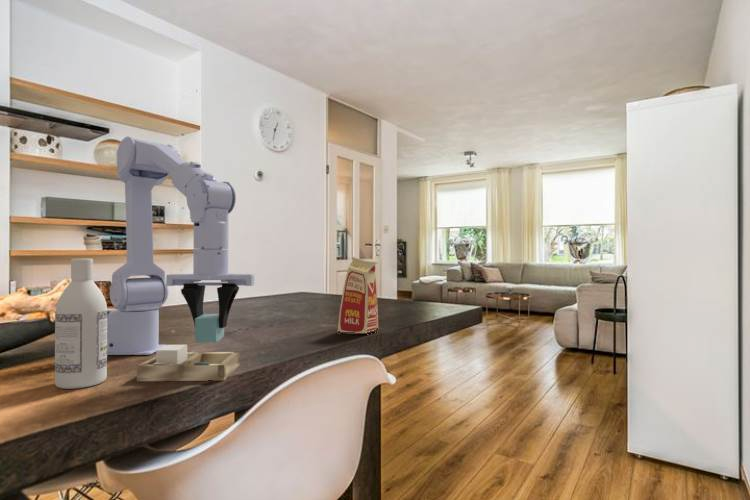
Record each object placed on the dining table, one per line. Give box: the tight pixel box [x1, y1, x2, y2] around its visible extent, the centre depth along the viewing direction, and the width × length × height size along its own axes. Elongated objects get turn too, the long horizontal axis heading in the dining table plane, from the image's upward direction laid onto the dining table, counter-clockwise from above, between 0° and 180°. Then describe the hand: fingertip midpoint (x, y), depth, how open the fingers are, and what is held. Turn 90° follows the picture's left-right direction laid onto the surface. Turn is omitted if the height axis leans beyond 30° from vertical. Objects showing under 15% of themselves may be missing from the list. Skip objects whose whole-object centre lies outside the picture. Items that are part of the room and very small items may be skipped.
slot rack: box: [136, 351, 240, 382], centre depth 77 cm, size 14×10×3 cm
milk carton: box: [337, 256, 379, 333], centre depth 117 cm, size 9×9×20 cm
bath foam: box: [54, 257, 108, 390], centre depth 71 cm, size 7×7×20 cm
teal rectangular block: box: [194, 313, 225, 343], centre depth 77 cm, size 6×4×4 cm, turn 3°
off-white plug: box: [155, 344, 188, 364], centre depth 77 cm, size 6×4×4 cm, turn 2°
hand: (210, 327), depth 77 cm, fingers closed on teal rectangular block, 3 cm apart
